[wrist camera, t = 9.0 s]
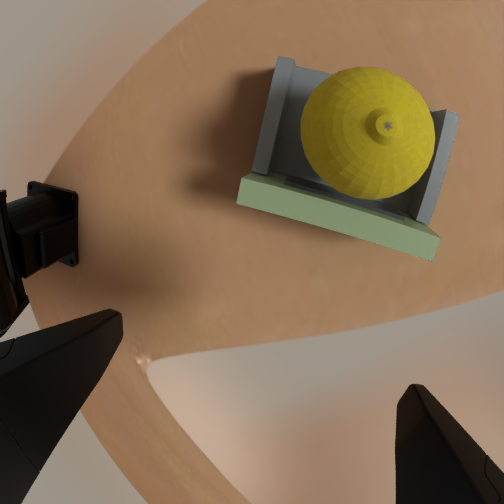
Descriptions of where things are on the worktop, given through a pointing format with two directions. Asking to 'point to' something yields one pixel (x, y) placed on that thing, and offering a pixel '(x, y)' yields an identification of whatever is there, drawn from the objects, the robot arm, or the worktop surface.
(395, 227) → the miniature couch
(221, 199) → the worktop surface
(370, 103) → the lemon
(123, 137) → the worktop surface
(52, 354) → the robot arm
